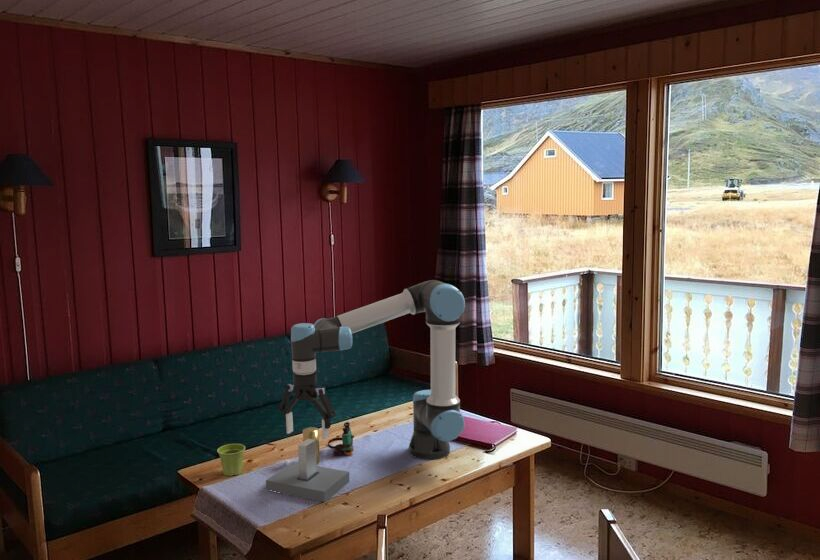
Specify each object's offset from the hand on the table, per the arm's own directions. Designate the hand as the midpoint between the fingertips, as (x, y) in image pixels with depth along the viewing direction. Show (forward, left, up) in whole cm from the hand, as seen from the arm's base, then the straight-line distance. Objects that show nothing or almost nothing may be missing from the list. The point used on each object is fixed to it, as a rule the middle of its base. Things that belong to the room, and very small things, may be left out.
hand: (307, 435), depth 222 cm
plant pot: (+30, +1, -18) cm, 35 cm away
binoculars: (+4, -29, -18) cm, 34 cm away
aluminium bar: (0, 0, -18) cm, 18 cm away
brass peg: (+9, -17, -17) cm, 26 cm away
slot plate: (0, 0, -18) cm, 18 cm away
